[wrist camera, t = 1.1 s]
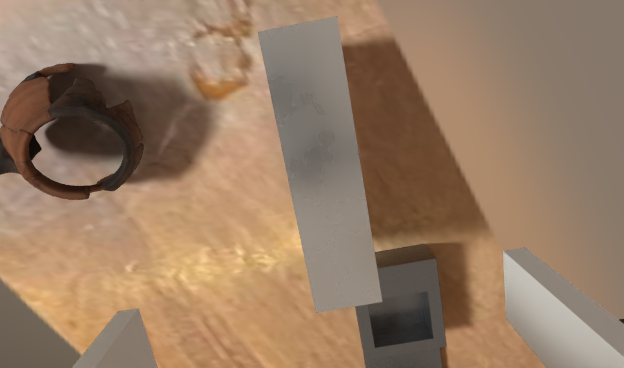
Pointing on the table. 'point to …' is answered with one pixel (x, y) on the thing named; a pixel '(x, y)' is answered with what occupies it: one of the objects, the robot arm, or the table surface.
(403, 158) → the table surface
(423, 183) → the table surface
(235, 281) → the table surface
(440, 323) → the rail
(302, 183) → the grey notched block
